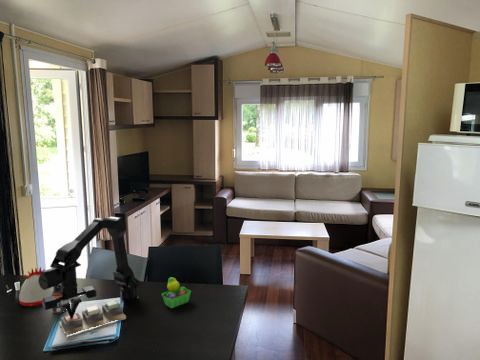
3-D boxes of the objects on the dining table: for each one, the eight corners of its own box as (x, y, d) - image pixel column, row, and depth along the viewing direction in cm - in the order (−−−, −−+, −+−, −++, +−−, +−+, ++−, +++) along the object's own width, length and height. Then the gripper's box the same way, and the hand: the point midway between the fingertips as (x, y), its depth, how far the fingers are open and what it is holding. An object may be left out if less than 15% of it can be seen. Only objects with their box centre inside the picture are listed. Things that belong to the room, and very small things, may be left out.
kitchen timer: (55, 300, 174) (53, 269, 171) (21, 309, 166) (17, 276, 164) (50, 289, 185) (48, 260, 183) (18, 297, 177) (15, 266, 175)
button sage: (115, 305, 162) (115, 299, 161) (118, 309, 159) (118, 303, 158) (105, 308, 160) (105, 302, 159) (109, 312, 156) (108, 305, 156)
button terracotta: (76, 320, 153) (75, 313, 152) (78, 324, 149) (78, 317, 149) (65, 323, 150) (64, 317, 150) (67, 327, 147) (67, 321, 147)
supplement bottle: (61, 314, 160) (59, 289, 159) (49, 313, 162) (47, 288, 160) (70, 308, 166) (69, 283, 165) (58, 306, 167) (56, 282, 166)
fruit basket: (170, 310, 164) (169, 285, 162) (159, 303, 170) (158, 279, 169) (192, 302, 171) (191, 278, 169) (181, 295, 178) (180, 272, 176)
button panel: (116, 307, 166) (115, 298, 166) (126, 318, 157) (125, 309, 156) (59, 324, 153) (58, 314, 152) (66, 337, 143) (65, 327, 143)
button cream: (96, 311, 157) (95, 305, 157) (99, 315, 154) (98, 308, 154) (86, 314, 155) (85, 307, 154) (89, 318, 152) (88, 311, 151)
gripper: (87, 268, 159) (90, 303, 161) (37, 279, 148) (41, 316, 150) (95, 276, 150) (98, 313, 153) (43, 289, 139) (47, 328, 141)
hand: (71, 317), depth 149 cm, fingers closed, pressing on button terracotta
